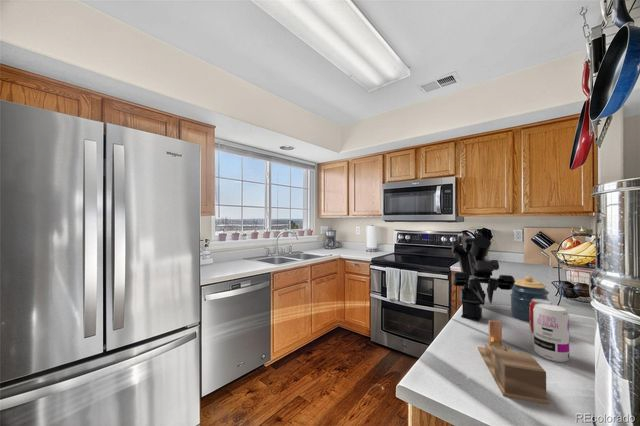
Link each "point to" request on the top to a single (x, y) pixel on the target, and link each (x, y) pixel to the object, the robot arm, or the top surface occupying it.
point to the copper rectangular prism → (495, 335)
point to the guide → (516, 374)
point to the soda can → (532, 305)
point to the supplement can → (551, 332)
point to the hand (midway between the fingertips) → (487, 302)
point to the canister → (526, 296)
